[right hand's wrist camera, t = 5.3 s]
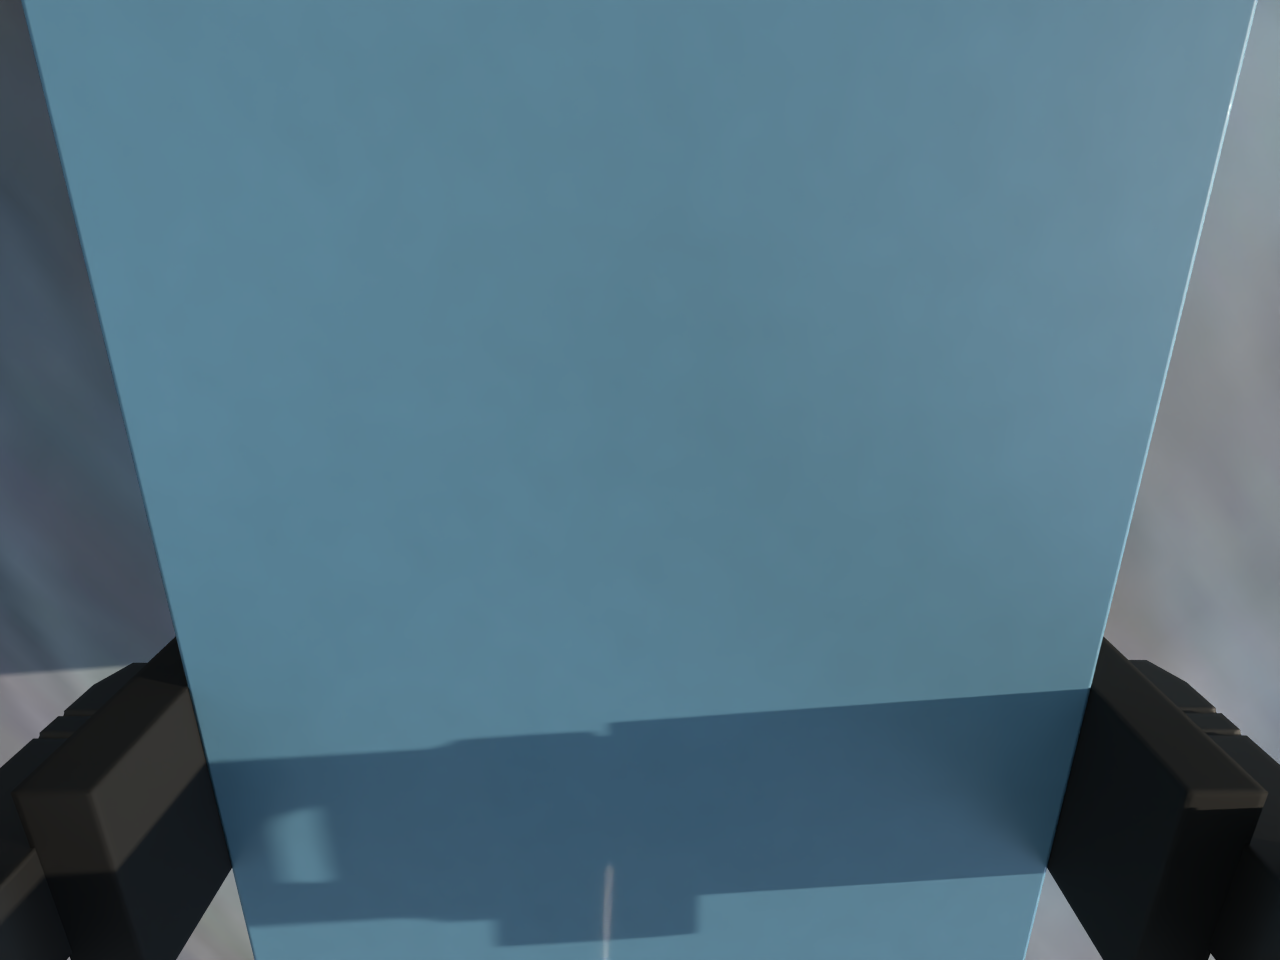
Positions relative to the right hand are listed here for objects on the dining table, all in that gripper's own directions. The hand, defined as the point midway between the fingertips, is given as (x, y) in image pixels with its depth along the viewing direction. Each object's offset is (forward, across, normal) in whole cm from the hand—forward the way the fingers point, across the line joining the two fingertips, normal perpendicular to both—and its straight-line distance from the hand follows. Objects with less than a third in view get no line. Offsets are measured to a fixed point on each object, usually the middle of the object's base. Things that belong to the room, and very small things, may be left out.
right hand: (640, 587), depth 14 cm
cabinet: (+5, 0, -7) cm, 9 cm away
